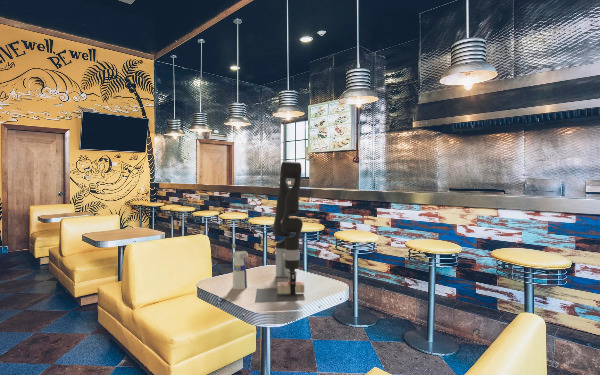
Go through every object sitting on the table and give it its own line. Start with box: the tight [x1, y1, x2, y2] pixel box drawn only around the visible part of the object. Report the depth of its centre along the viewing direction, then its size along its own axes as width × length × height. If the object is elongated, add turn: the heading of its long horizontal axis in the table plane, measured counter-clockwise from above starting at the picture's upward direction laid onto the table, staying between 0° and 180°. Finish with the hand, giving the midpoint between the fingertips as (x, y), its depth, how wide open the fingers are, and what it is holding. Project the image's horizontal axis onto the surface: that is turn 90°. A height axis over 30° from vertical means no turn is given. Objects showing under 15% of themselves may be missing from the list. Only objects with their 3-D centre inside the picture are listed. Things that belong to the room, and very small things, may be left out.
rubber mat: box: [254, 287, 299, 304], centre depth 165 cm, size 21×20×1 cm
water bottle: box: [231, 242, 249, 291], centre depth 177 cm, size 8×9×25 cm
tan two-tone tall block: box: [277, 281, 305, 294], centre depth 164 cm, size 6×4×13 cm
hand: (292, 291), depth 164 cm, fingers closed on tan two-tone tall block, 5 cm apart
